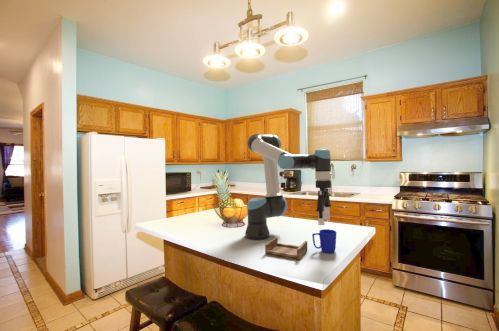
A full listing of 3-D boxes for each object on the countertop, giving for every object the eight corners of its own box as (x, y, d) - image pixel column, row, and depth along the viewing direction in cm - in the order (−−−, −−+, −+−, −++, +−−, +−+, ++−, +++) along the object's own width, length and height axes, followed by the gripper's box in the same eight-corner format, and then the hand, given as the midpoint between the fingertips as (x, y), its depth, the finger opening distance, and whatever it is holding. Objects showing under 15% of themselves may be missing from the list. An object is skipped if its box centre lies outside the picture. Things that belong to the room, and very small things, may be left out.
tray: (265, 254, 123) (265, 244, 123) (275, 246, 135) (275, 237, 135) (299, 260, 115) (299, 249, 115) (307, 251, 127) (307, 241, 127)
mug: (310, 249, 130) (309, 229, 130) (332, 248, 131) (332, 229, 131) (315, 254, 121) (315, 234, 121) (339, 253, 122) (339, 233, 122)
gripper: (325, 181, 113) (327, 228, 113) (335, 178, 135) (336, 217, 135) (309, 181, 117) (310, 226, 116) (321, 178, 139) (322, 216, 138)
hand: (324, 222), depth 126 cm, fingers open, 13 cm apart
